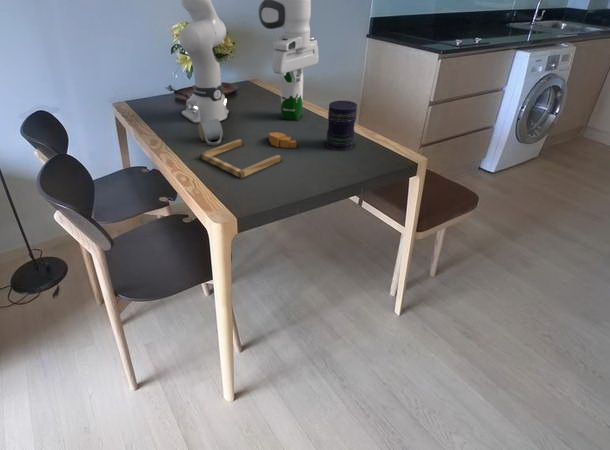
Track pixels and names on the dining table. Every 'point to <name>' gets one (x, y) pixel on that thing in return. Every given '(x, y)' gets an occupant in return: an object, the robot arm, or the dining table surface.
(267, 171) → the dining table surface
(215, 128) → the ceramic mug
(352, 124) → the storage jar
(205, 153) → the oak frame
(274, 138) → the orange block cluster
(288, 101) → the milk carton
